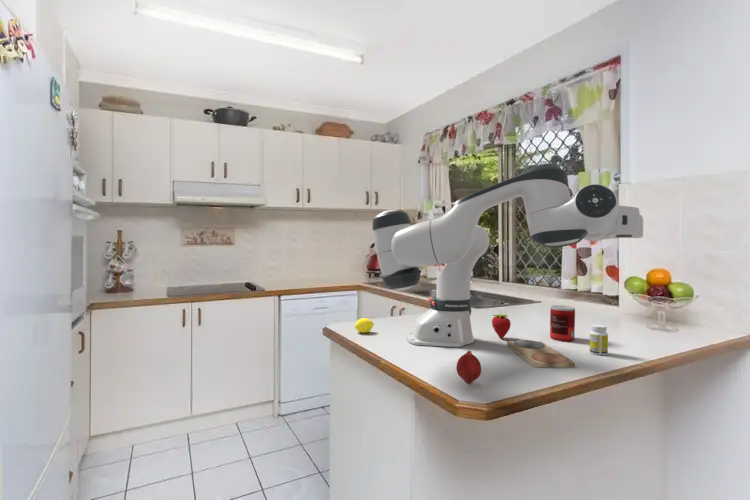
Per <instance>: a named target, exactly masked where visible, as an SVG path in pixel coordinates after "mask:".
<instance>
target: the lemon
mask: <svg viewBox="0 0 750 500" xmlns="http://www.w3.org/2000/svg"><path fill="white" fill-rule="evenodd" d="M374 325H375V324H374V322H373V321H372V320H371V319H369V318H366V317H362V318H360V319H358V320H357V321H356V322H355V325H354V328H355V329H356V331H357V332H358V333H360V332H361V333H360V334H366V332H367V333H369V332H370V331H371V330H372V329H373V327H374Z"/></svg>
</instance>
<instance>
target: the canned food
mask: <svg viewBox="0 0 750 500" xmlns="http://www.w3.org/2000/svg"><path fill="white" fill-rule="evenodd" d="M549 310H550V313H549V314H550V316H549V317H550V318H549V319H550V320H549V336H550V339H552V340H553V341H558V342H564V343H565V342H568V343H569V342H573V341H574V340H575V329H576V308H575V307H574V306H571V305H563V304H561V305H560V304H558V305H557V304H554V305H551V306H550V309H549Z"/></svg>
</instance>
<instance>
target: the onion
mask: <svg viewBox="0 0 750 500" xmlns="http://www.w3.org/2000/svg"><path fill="white" fill-rule="evenodd" d="M458 358H459V359H458V360H457V362H456V367H455V368H456V373H457V374H458V376H459V378H461V379H462V381H464V382H465V383H466V384H469V385H470V384H473V382H475V380H477V379H479V377H480V375H481V373H482V364H481V362H480V360H479V358H477V357H476V355H474V354H473V352H472V350H467V352H466V353H464V354H462V355H461V356H460V357H458Z"/></svg>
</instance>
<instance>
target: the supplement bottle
mask: <svg viewBox="0 0 750 500" xmlns="http://www.w3.org/2000/svg"><path fill="white" fill-rule="evenodd" d="M590 327H591V328H590V329H591V330H590V332H589V353H590V354H592V355H596V356H607V355H608V351H609V334H608V332H607V325H604V324H598V323H596V324H591V326H590Z"/></svg>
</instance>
